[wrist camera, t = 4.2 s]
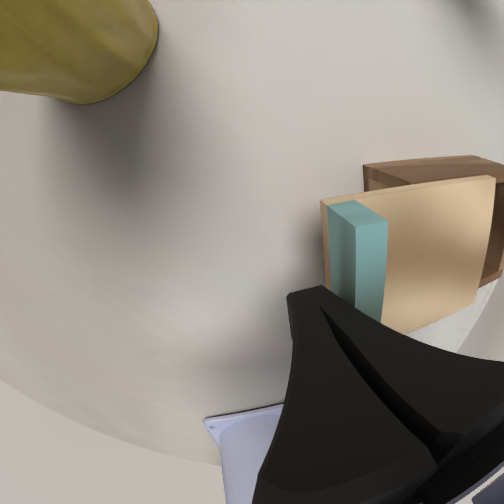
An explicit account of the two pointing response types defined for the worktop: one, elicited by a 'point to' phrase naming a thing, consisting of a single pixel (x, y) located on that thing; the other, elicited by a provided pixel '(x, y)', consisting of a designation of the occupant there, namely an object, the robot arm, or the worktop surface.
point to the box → (444, 168)
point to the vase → (74, 46)
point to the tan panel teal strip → (409, 249)
